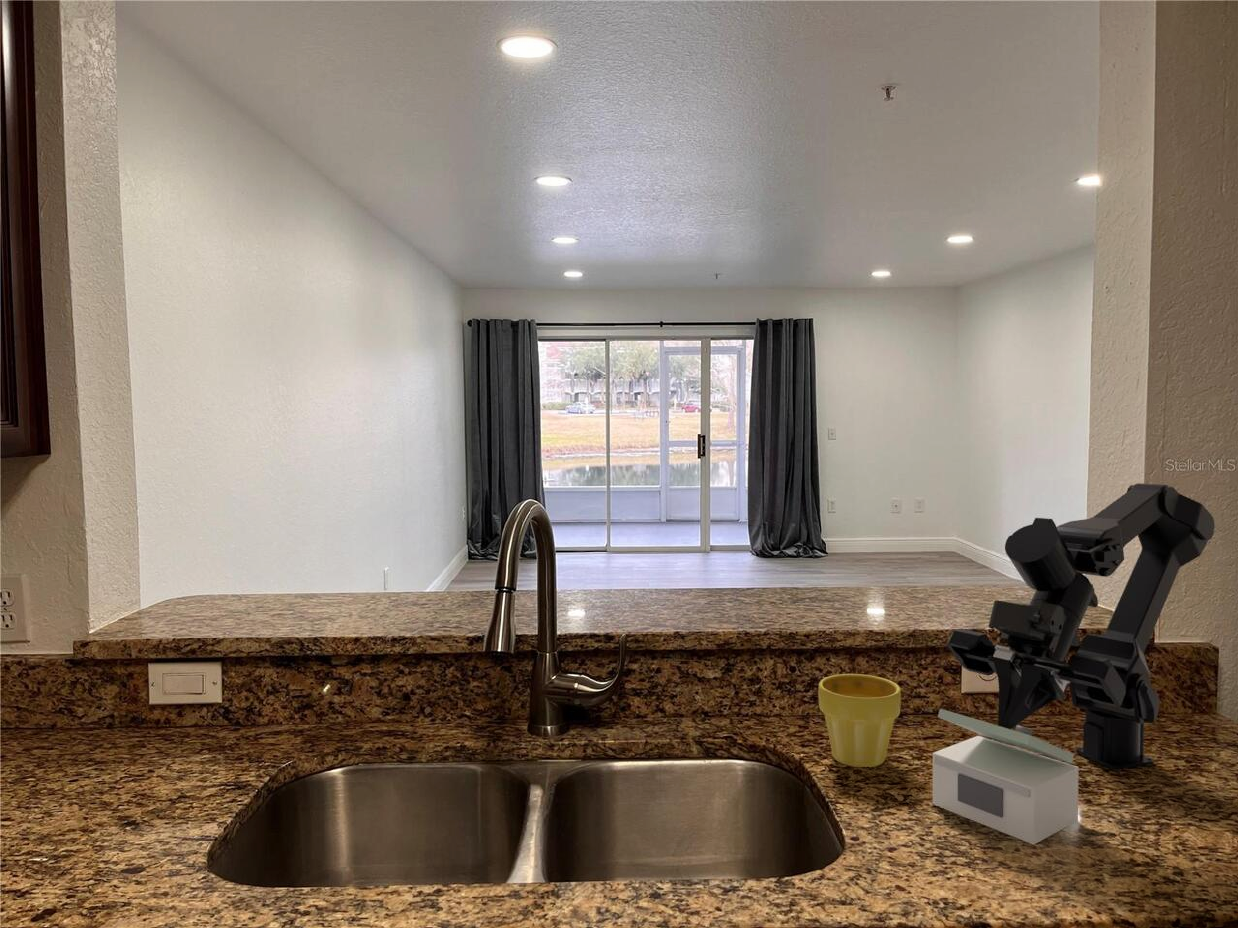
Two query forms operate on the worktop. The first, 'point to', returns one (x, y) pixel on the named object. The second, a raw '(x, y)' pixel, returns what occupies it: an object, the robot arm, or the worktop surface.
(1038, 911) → the worktop surface
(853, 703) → the plant pot
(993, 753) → the box
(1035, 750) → the lid
